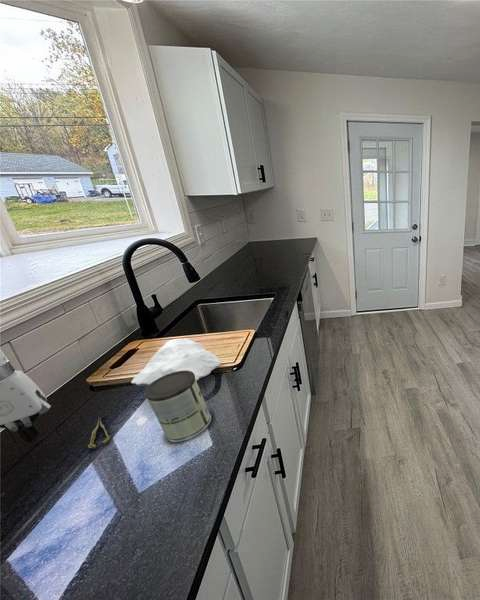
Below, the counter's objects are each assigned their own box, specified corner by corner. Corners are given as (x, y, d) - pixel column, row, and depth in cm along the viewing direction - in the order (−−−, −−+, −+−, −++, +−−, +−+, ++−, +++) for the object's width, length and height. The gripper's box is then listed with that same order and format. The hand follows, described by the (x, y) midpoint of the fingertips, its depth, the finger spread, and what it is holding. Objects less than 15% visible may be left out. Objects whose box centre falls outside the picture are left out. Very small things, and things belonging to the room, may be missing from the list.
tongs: (106, 417, 87) (103, 411, 86) (113, 442, 79) (109, 437, 78) (86, 425, 84) (83, 420, 83) (91, 453, 76) (87, 447, 75)
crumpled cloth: (132, 419, 83) (124, 390, 80) (133, 363, 109) (128, 339, 106) (230, 391, 97) (226, 365, 94) (211, 347, 123) (207, 326, 120)
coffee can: (159, 431, 81) (137, 387, 75) (201, 407, 88) (184, 365, 82) (175, 449, 75) (153, 403, 69) (218, 422, 82) (201, 378, 77)
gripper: (-78, 399, 62) (-19, 464, 69) (26, 371, 68) (70, 433, 75) (-51, 379, 68) (0, 441, 75) (41, 355, 74) (80, 414, 81)
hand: (35, 437), depth 75 cm, fingers closed
